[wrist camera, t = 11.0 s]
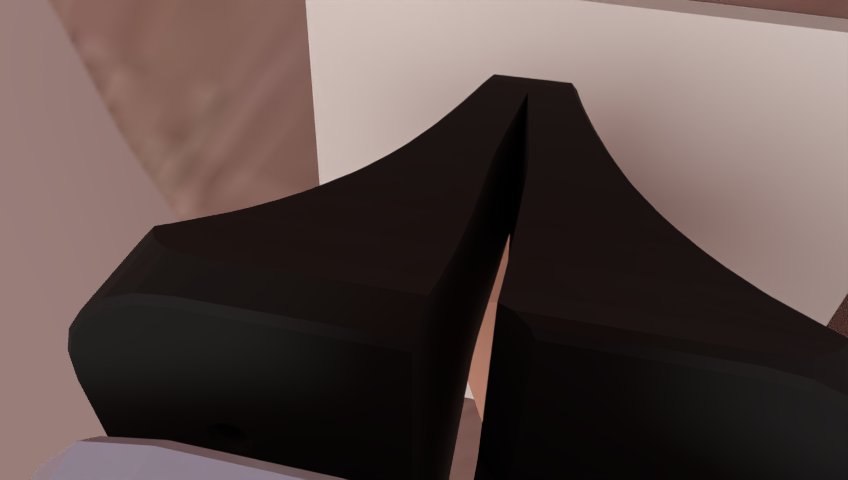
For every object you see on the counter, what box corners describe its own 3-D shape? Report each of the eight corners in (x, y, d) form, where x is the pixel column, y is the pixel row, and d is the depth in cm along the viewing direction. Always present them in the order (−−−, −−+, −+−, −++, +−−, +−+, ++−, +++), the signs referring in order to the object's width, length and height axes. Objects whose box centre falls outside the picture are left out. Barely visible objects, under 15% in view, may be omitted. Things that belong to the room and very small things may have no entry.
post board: (988, 35, 17) (1112, 148, 12) (737, 435, 28) (758, 561, 24) (315, -44, 19) (233, 28, 15) (340, 353, 31) (298, 455, 27)
